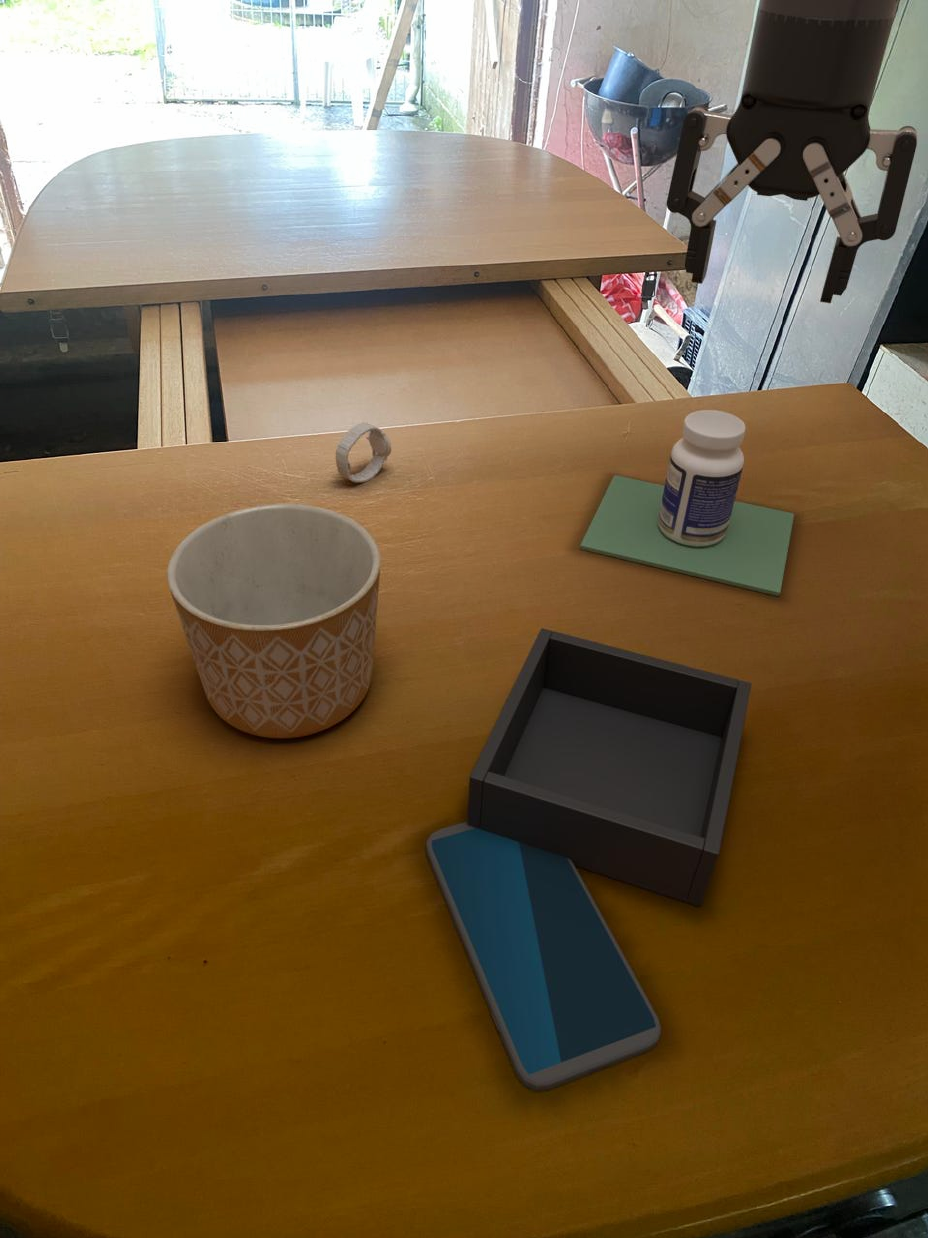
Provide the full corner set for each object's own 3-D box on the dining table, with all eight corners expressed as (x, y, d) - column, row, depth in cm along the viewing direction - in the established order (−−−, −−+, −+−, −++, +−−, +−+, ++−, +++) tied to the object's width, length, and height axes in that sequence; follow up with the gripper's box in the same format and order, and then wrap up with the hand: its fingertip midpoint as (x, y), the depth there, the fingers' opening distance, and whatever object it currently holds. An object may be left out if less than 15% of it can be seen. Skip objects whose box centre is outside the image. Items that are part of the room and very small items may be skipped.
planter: (227, 783, 55) (201, 655, 49) (172, 656, 64) (143, 532, 57) (416, 715, 60) (415, 590, 54) (341, 605, 69) (333, 485, 62)
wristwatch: (393, 472, 83) (392, 423, 80) (353, 494, 80) (350, 443, 77) (371, 461, 85) (369, 412, 82) (330, 482, 82) (327, 431, 79)
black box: (734, 735, 60) (752, 682, 57) (700, 907, 50) (718, 854, 47) (535, 680, 63) (541, 627, 60) (466, 830, 53) (469, 776, 50)
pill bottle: (736, 525, 78) (764, 419, 71) (709, 557, 74) (737, 448, 68) (673, 503, 80) (695, 398, 74) (645, 533, 77) (665, 425, 70)
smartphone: (539, 810, 55) (541, 800, 55) (668, 1046, 44) (671, 1037, 44) (420, 844, 53) (420, 834, 52) (524, 1102, 42) (526, 1093, 42)
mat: (793, 517, 80) (794, 513, 80) (779, 596, 71) (780, 592, 71) (613, 478, 84) (614, 474, 84) (579, 549, 75) (580, 545, 75)
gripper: (690, 2, 51) (646, 292, 62) (963, 21, 48) (869, 325, 58) (711, -10, 57) (668, 258, 67) (958, 6, 53) (872, 287, 63)
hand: (761, 289), depth 63 cm, fingers open, 8 cm apart
